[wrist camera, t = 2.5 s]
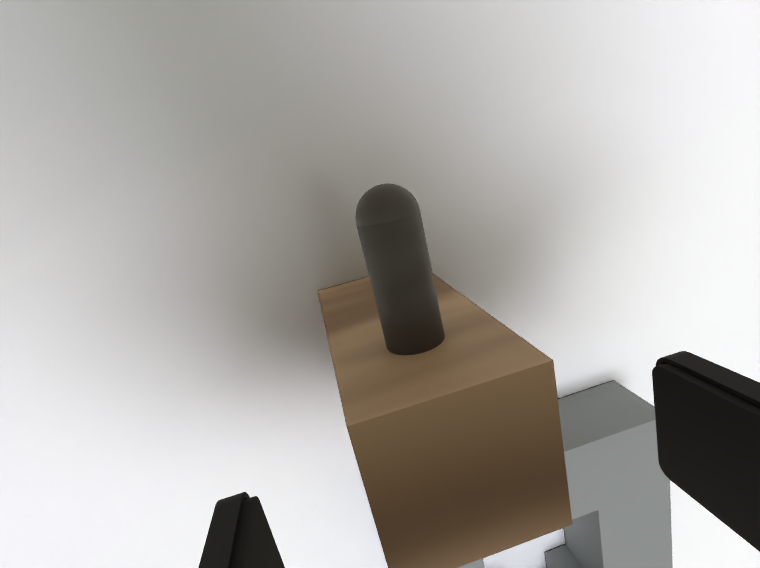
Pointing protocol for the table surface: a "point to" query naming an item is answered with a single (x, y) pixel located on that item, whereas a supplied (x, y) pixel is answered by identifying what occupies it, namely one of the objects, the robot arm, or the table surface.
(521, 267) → the table surface
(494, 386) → the walnut plug
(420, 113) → the table surface
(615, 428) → the socket block
